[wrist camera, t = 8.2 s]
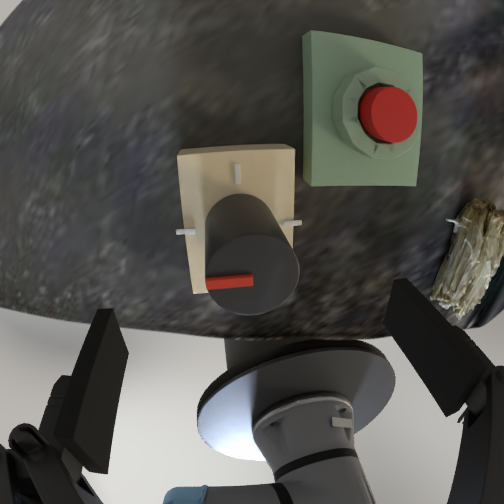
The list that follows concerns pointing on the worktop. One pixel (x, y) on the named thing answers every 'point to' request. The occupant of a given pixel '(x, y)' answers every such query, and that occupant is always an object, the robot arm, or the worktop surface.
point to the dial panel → (232, 190)
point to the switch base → (355, 111)
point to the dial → (247, 257)
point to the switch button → (388, 114)
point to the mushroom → (470, 257)
